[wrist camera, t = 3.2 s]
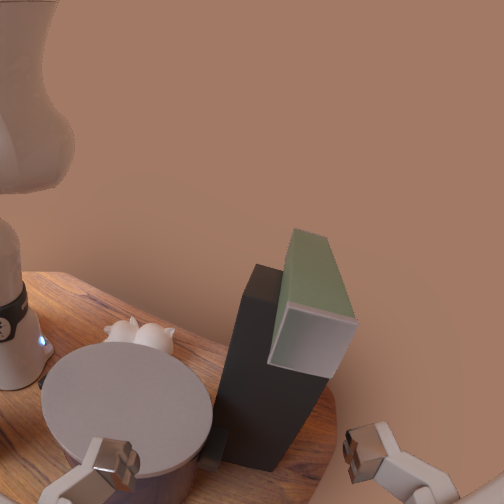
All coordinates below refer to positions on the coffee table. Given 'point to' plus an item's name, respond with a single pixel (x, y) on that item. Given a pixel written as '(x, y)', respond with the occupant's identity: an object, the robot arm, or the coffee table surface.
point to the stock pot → (135, 415)
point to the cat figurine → (141, 334)
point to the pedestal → (261, 383)
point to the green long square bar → (311, 310)
